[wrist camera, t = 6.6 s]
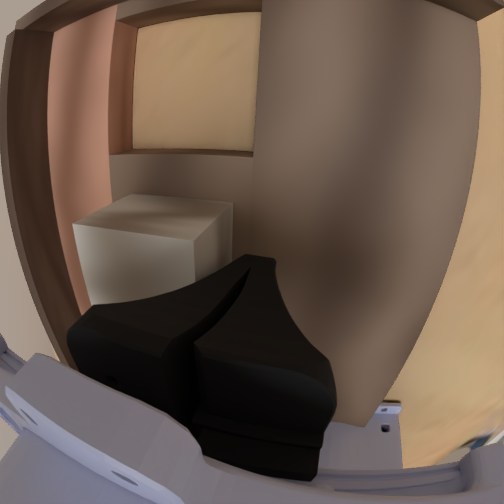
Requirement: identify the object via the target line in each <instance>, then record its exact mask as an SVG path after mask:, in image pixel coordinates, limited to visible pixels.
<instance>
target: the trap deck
mask: <svg viewBox="0 0 504 504" xmlns="http://www.w3.org/2000/svg"><path fill="white" fill-rule="evenodd" d="M502 8H504V1H503V0H46V1H44V2H43V3H41V4H40V5H38V6H37V7H35V8H34V9H33V10H31V11H30V12H28V13H27V14H26V15H24V16H23V17H22V18H20V19H19V20H18V21H17V22H16V26H15V30H14V31H13V32H11V33H10V34H9V35H8V36H7V38H6V44H5V50H4V57H3V64H2V73H1V84H0V154H1V165H2V174H3V183H4V190H5V196H6V202H7V208H8V213H9V218H10V223H11V228H12V232H13V236H14V240H15V244H16V248H17V252H18V255H19V259H20V262H21V266H22V269H23V272H24V275H25V278H26V281H27V284H28V287H29V290H30V293H31V296H32V298H33V301H34V304H35V306H36V309H37V311H38V314H39V316H40V319H41V321H42V323H43V326H44V328H45V330H46V333H47V335H48V337H49V339H50V341H51V343H52V345H53V348H54V350H55V352H56V354H57V356H58V358H59V360H60V361H61V363H63V364H64V365H66V366H68V367H70V368H72V369H74V370H75V371H77V372H79V370H78V368H77V366H76V364H75V362H74V360H73V358H72V356H71V353H70V351H69V348H68V345H67V337H66V334H67V331H68V329H69V328H70V327H71V326H72V325H73V324H74V323H75V322H76V321H77V320H78V319H79V318H80V317H81V316H82V315H83V314H84V313H85V312H86V311H87V310H88V309H89V308H90V307H91V306H92V305H91V302H90V299H89V295H88V292H87V288H86V284H85V280H84V276H83V272H82V268H81V264H80V260H79V255H78V251H77V246H76V241H75V236H74V231H73V225H72V224H73V223H74V222H76V221H78V220H80V219H82V218H84V217H86V216H88V215H89V214H91V213H93V212H95V211H97V210H99V209H101V208H103V207H105V206H107V205H109V204H111V203H113V202H115V201H117V200H119V199H121V198H124V197H126V196H128V195H130V194H142V195H157V196H170V197H182V198H194V199H204V200H215V201H225V202H233V232H232V262H233V261H234V260H236V259H237V258H239V257H241V256H242V255H244V254H250V255H256V256H263V257H269V258H274V259H275V260H276V261H277V262H276V271H275V272H276V278H277V282H278V287H279V290H280V293H281V296H282V298H283V301H284V303H285V305H286V307H287V309H288V311H289V313H290V315H291V317H292V319H293V320H294V322H295V323H296V325H297V326H298V328H299V329H300V330H301V332H302V333H303V334H304V336H305V337H306V338H307V339H308V341H309V342H310V343H311V344H312V345H313V346H314V347H315V348H317V349H318V350H319V351H320V352H321V353H322V354H323V355H324V356H325V357H327V358H328V359H329V361H330V364H331V367H332V371H333V375H334V380H335V385H336V392H337V407H336V411H335V414H334V416H333V418H332V420H331V422H339V423H345V424H349V425H353V426H357V427H365V426H366V424H367V423H368V422H369V420H370V419H371V417H372V416H373V414H374V413H375V411H376V410H377V408H378V407H379V405H380V404H381V402H382V401H383V399H384V398H385V396H386V395H387V393H388V391H389V390H390V388H391V386H392V385H393V383H394V381H395V380H396V378H397V376H398V375H399V373H400V371H401V369H402V368H403V366H404V364H405V362H406V360H407V358H408V357H409V355H410V353H411V351H412V349H413V347H414V345H415V343H416V341H417V339H418V337H419V335H420V333H421V331H422V329H423V327H424V325H425V322H426V320H427V318H428V316H429V314H430V311H431V309H432V307H433V304H434V302H435V299H436V297H437V295H438V292H439V290H440V287H441V284H442V282H443V279H444V276H445V274H446V271H447V268H448V265H449V262H450V259H451V256H452V253H453V250H454V247H455V244H456V241H457V237H458V234H459V230H460V227H461V223H462V219H463V215H464V211H465V207H466V203H467V198H468V194H469V189H470V184H471V179H472V173H473V168H474V161H475V155H476V147H477V139H478V129H479V117H480V97H481V67H480V48H479V37H478V28H477V21H479V20H481V19H483V18H485V17H486V16H488V15H490V14H492V13H494V12H496V11H498V10H500V9H502ZM255 11H262V14H261V31H260V48H259V64H258V82H257V99H256V117H255V134H254V152H248V151H232V150H211V149H132V95H133V74H134V60H135V49H136V39H137V30H138V28H140V27H144V26H148V25H153V24H157V23H162V22H166V21H172V20H177V19H183V18H189V17H196V16H203V15H211V14H221V13H234V12H255ZM79 373H80V372H79Z"/></svg>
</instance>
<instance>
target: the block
mask: <svg viewBox="0 0 504 504" xmlns="http://www.w3.org/2000/svg"><path fill="white" fill-rule="evenodd" d="M72 225H73V231H74V236H75V241H76V246H77V251H78V255H79V260H80V264H81V268H82V272H83V276H84V280H85V284H86V288H87V292H88V295H89V299H90V302H91V305H94V304H109V303H120V302H128V301H134V300H140V299H145V298H149V297H154V296H157V295H160V294H164V293H167V292H171V291H174V290H177V289H180V288H182V287H185V286H187V285H190V284H192V283H195V282H197V281H199V280H201V279H203V278H205V277H207V276H208V275H210V274H212V273H214V272H216V271H218V270H220V269H221V268H223V267H225V266H226V265H228V264H230V263H231V262H232V232H233V202H225V201H215V200H204V199H194V198H182V197H170V196H157V195H142V194H130V195H128V196H126V197H124V198H121V199H119V200H117V201H115V202H113V203H111V204H109V205H107V206H105V207H103V208H101V209H99V210H97V211H95V212H93V213H91V214H89V215H88V216H86V217H84V218H82V219H80V220H78V221H76V222H74V223H73V224H72Z"/></svg>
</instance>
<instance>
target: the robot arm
mask: <svg viewBox="0 0 504 504" xmlns="http://www.w3.org/2000/svg"><path fill="white" fill-rule="evenodd" d="M276 262H277V261H276V260H275V259H274V258H269V257H263V256H256V255H250V254H244V255H242V256H241V257H239V258H237V259H236V260H234V261H233V262H231V263H230V264H228V265H226V266H225V267H223V268H221V269H220V270H218V271H216V272H214V273H212V274H210V275H208V276H207V277H205V278H203V279H201V280H199V281H197V282H195V283H192V284H190V285H187V286H185V287H182V288H180V289H177V290H174V291H171V292H167V293H164V294H160V295H157V296H154V297H149V298H145V299H140V300H134V301H128V302H120V303H109V304H94V305H92V306H91V307H90V308H89V309H88V310H87V311H86V312H85V313H84V314H83V315H82V316H81V317H80V318H79V319H78V320H77V321H76V322H75V323H74V324H73V325H72V326H71V327H70V328H69V329H68V331H67V334H66V337H67V345H68V348H69V351H70V353H71V356H72V358H73V360H74V362H75V364H76V366H77V368H78V370H79V372H80V373H79V372H77V371H75V370H74V369H72V368H70V367H68V366H66V365H64V364H63V363H61V362H59V361H57V360H56V359H54V358H52V357H49V356H46V355H44V354H40V353H35V354H34V355H33V357H31V358H30V359H29V361H27V362H26V361H25V360H23V359H22V358H21V357H19V356H18V355H17V354H15V353H14V352H12V351H11V350H10V349H9V348H8V346H7V344H6V342H5V340H4V338H3V337H2V335H1V334H0V416H1V417H2V418H3V419H4V420H5V421H6V422H7V423H8V424H9V425H10V426H11V427H12V428H13V429H14V430H15V431H16V432H17V433H18V434H19V436H18V438H17V439H16V441H15V442H14V443H13V444H12V446H11V447H10V448H9V450H8V451H7V453H6V454H5V456H4V457H3V458H2V460H1V461H0V504H504V445H503V442H498V443H494V444H490V445H486V446H482V447H478V448H476V449H474V450H472V451H470V452H469V453H468V454H466V455H465V456H464V457H463V458H462V459H461V460H460V461H458V462H453V463H447V464H441V465H434V466H426V467H417V468H406V469H403V464H402V448H401V436H400V426H399V417H398V414H399V412H400V411H401V410H402V405H401V404H400V403H382V402H381V404H380V405H379V407H378V408H377V410H376V411H375V413H374V414H373V416H372V417H371V419H370V420H369V422H368V423H367V424H366V426H365V427H357V426H353V425H349V424H345V423H339V422H331V420H332V418H333V416H334V414H335V411H336V407H337V392H336V385H335V380H334V375H333V371H332V367H331V364H330V361H329V359H328V358H327V357H325V356H324V355H323V354H322V353H321V352H320V351H319V350H318V349H317V348H315V347H314V346H313V345H312V344H311V343H310V342H309V341H308V339H307V338H306V337H305V336H304V334H303V333H302V332H301V330H300V329H299V328H298V326H297V325H296V323H295V322H294V320H293V319H292V317H291V315H290V313H289V311H288V309H287V307H286V305H285V303H284V301H283V298H282V296H281V293H280V290H279V287H278V282H277V278H276V272H275V271H276Z"/></svg>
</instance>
